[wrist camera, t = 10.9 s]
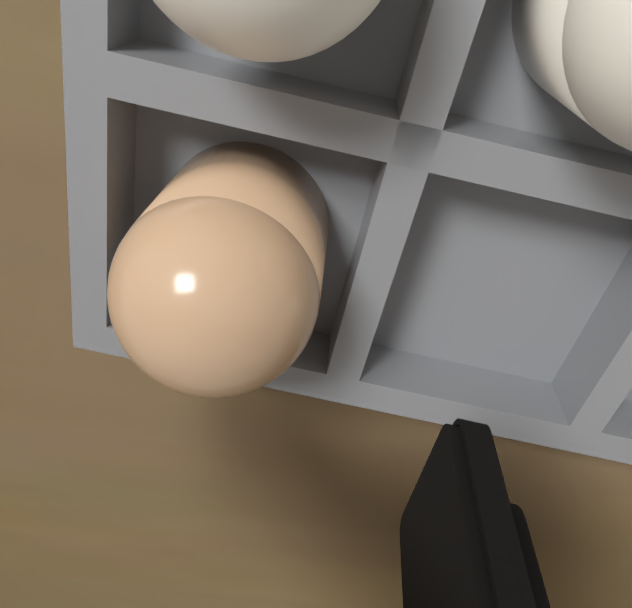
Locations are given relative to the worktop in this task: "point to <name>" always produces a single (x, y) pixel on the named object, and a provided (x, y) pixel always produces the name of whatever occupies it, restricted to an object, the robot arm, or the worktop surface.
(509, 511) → the robot arm
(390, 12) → the egg carton
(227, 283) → the brown egg
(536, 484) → the worktop surface
